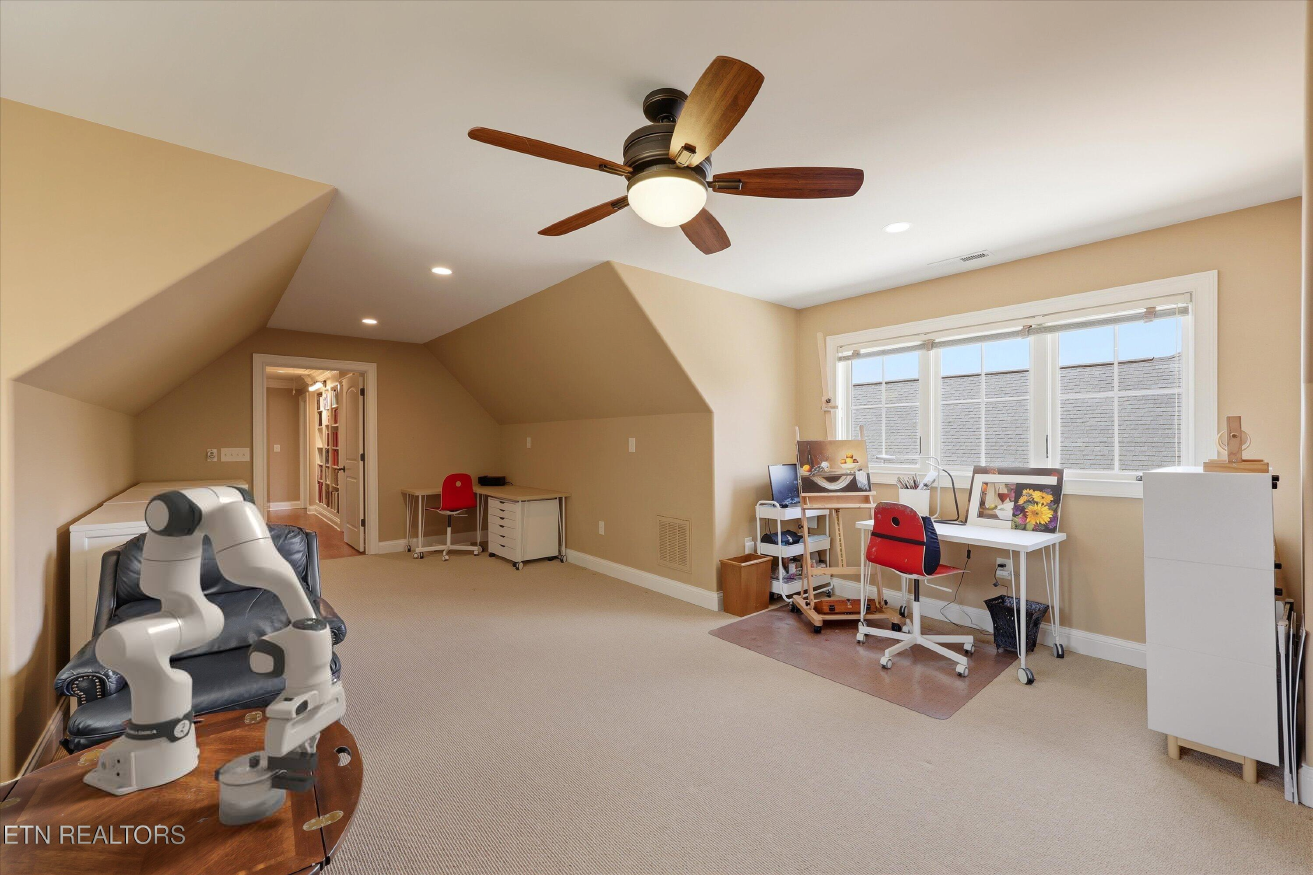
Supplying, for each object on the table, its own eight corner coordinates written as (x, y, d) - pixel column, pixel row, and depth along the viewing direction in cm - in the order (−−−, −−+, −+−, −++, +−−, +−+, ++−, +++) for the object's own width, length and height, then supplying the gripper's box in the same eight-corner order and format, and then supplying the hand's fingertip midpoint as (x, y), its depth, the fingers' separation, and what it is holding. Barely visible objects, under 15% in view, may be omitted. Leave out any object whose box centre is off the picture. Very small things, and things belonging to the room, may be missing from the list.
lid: (203, 783, 120) (204, 765, 120) (250, 752, 132) (250, 735, 132) (293, 790, 118) (294, 771, 118) (332, 757, 131) (332, 741, 131)
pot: (193, 819, 121) (194, 781, 121) (242, 786, 133) (243, 751, 133) (286, 833, 117) (287, 794, 118) (329, 797, 129) (330, 762, 129)
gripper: (329, 674, 138) (329, 731, 138) (258, 712, 118) (258, 779, 118) (353, 675, 137) (352, 733, 137) (285, 714, 117) (285, 782, 117)
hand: (308, 755), depth 127 cm, fingers closed
